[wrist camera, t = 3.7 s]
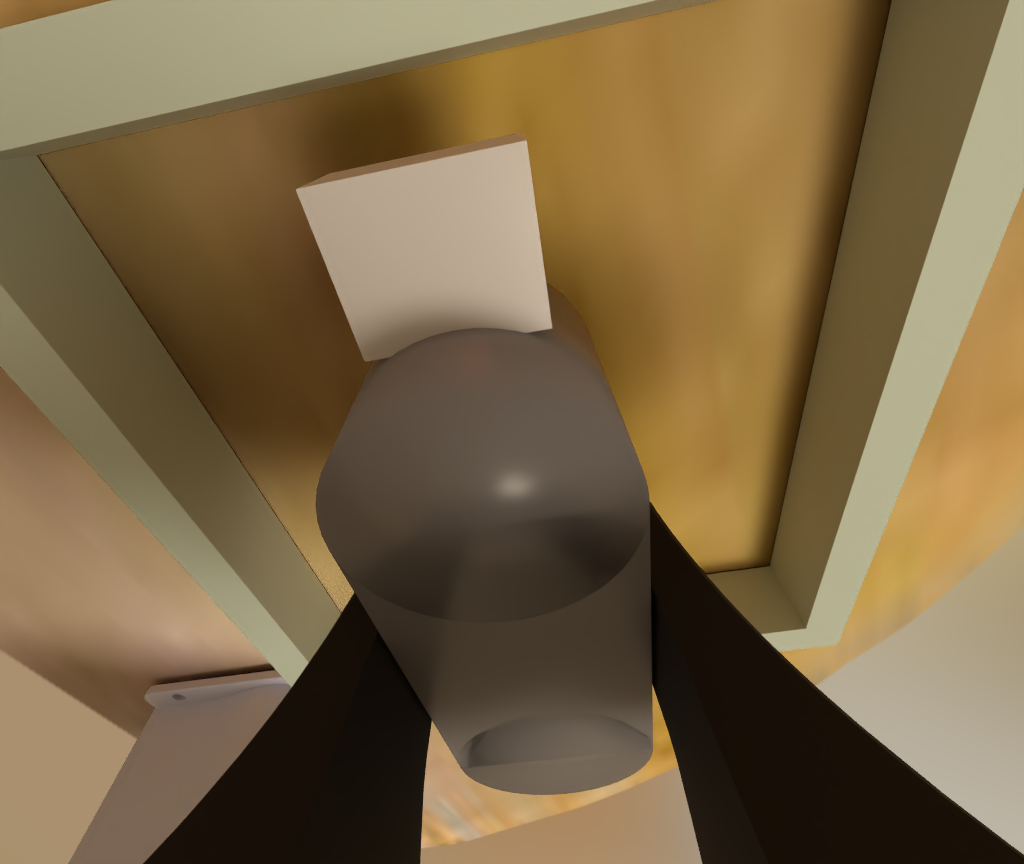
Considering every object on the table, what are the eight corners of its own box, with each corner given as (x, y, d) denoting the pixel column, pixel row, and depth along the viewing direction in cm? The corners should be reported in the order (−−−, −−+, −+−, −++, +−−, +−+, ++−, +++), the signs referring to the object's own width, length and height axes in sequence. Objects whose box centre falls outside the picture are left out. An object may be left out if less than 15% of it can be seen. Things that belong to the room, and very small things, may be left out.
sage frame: (329, 643, 19) (309, 707, 17) (-75, 91, 8) (-249, 92, 6) (799, 582, 17) (837, 644, 15) (1010, -173, 7) (1212, -279, 5)
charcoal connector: (484, 642, 14) (481, 802, 11) (304, 172, 7) (139, 237, 4) (616, 625, 14) (653, 785, 11) (571, 114, 7) (646, 132, 3)
